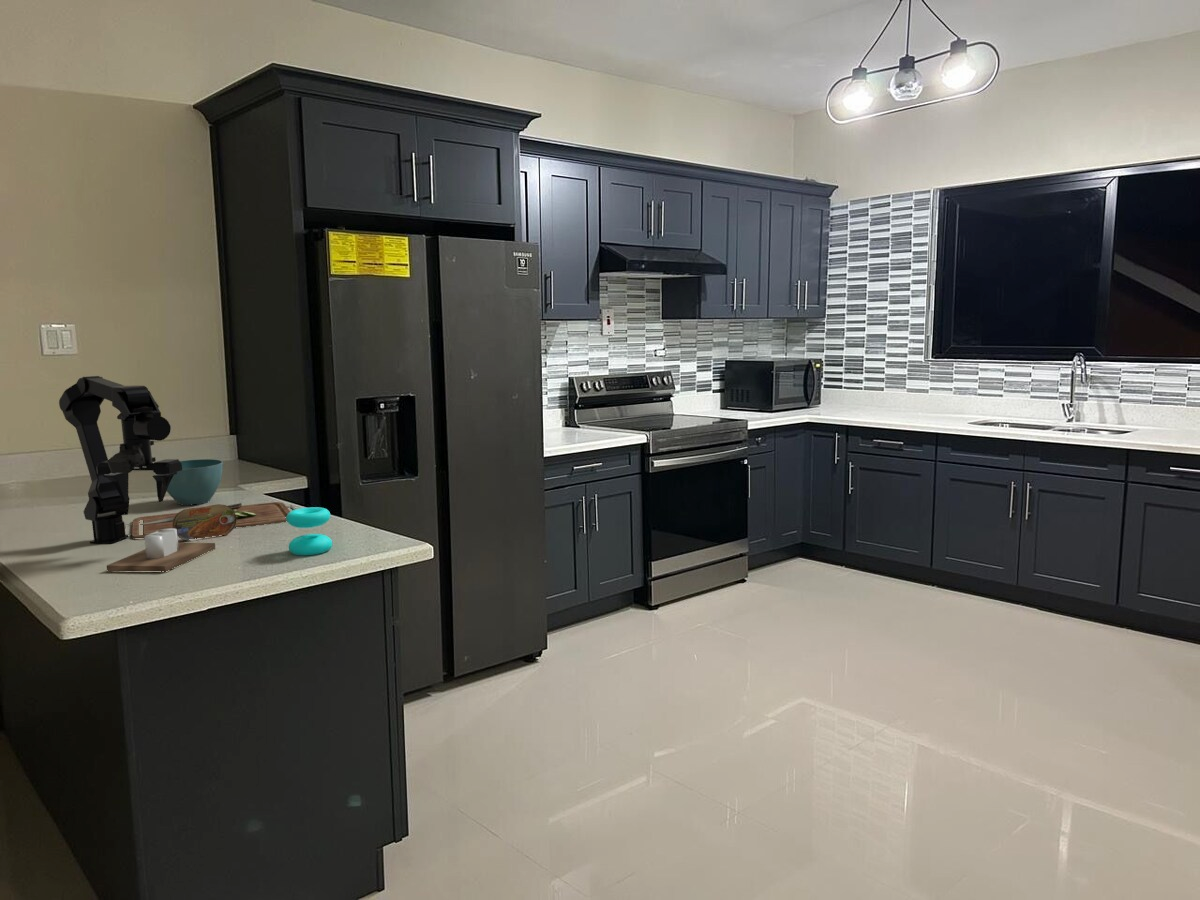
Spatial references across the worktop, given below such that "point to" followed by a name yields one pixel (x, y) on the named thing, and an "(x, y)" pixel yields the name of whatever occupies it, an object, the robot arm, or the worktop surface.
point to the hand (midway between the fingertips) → (143, 501)
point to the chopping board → (244, 514)
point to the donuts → (309, 542)
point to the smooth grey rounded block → (161, 543)
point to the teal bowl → (196, 481)
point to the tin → (204, 521)
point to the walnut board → (161, 564)
